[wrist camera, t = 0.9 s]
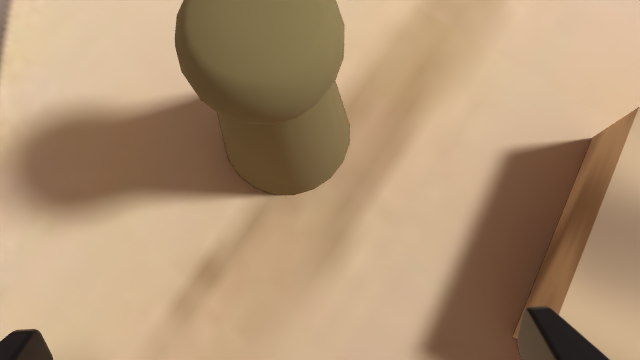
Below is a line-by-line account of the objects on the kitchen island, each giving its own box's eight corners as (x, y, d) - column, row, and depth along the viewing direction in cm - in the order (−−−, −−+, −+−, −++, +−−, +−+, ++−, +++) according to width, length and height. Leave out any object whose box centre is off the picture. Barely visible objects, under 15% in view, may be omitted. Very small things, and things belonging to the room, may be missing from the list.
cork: (197, 131, 26) (101, 9, 15) (290, 50, 27) (260, -120, 16) (283, 222, 25) (244, 158, 14) (376, 134, 26) (406, 12, 15)
